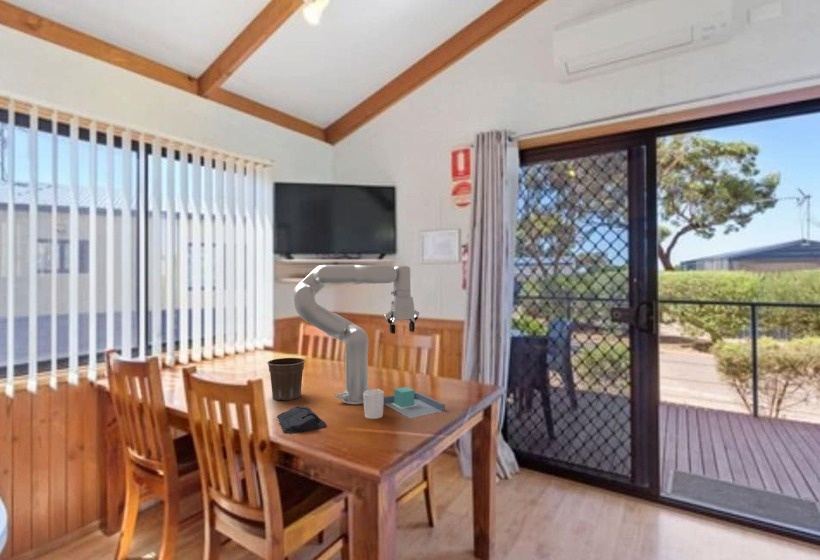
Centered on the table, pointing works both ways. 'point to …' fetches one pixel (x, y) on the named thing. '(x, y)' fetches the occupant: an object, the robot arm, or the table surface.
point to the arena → (416, 406)
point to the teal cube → (404, 397)
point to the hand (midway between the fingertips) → (402, 332)
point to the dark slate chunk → (300, 420)
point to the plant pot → (286, 377)
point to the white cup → (373, 403)
